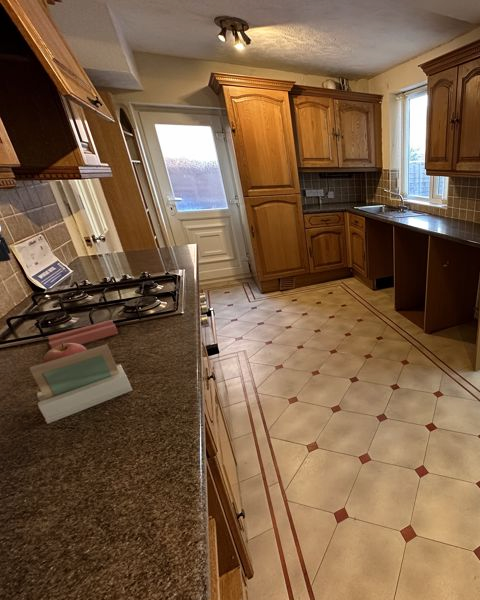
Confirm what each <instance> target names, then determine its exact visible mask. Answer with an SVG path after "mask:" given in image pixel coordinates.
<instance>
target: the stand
mask: <svg viewBox="0 0 480 600" xmlns="http://www.w3.org/2000/svg"><path fill="white" fill-rule="evenodd" d="M118 334H119V331H118V329H117V326H116V324H115V323H114V322H113V319H108V320H104V321H102V322H98V323H97V322H96V323H94V324H89V325H86V326H83V327H78V328H74V329H71V330H67V331H63V332H60V333H59V332H58V333H56V334H51V335H48V336H47V340H48V344H49V347H50V349H53V348H55V347H57V346H59V345H62V343H64V344H65V343H76V344H80V345H83V344H87V343H91V342H94V341H98V340H100V339H104V338H107V337H110V336H115V335H118Z"/></svg>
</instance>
